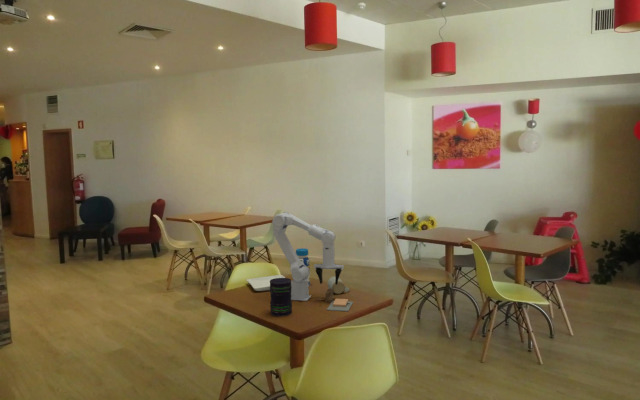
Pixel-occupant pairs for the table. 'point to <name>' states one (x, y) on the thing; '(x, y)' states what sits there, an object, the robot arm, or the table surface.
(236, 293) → the table surface
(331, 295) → the bar
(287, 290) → the storage jar
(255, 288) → the salad plate
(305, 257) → the beverage bottle
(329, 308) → the mat
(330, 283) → the ceramic mug
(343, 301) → the tile
